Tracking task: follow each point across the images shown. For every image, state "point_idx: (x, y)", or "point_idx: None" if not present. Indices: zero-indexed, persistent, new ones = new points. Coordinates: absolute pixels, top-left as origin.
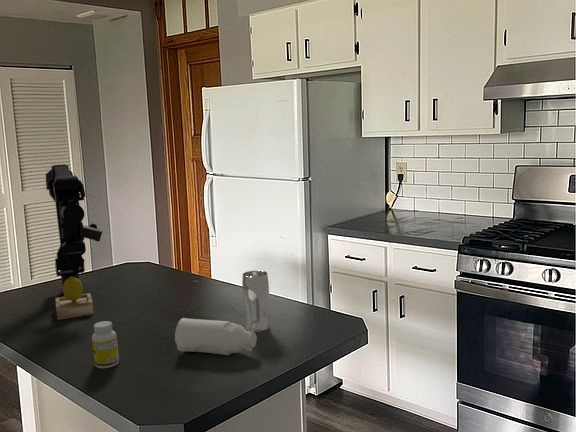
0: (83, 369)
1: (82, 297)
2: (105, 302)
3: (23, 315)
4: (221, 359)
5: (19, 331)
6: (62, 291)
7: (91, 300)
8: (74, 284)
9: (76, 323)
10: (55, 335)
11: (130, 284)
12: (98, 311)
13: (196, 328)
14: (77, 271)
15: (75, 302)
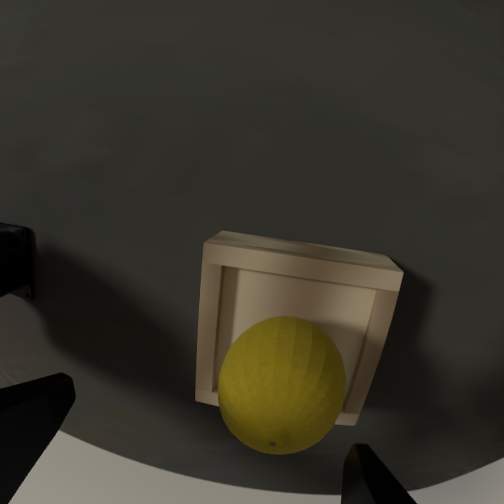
0: None
1: (222, 285)
2: (224, 159)
3: (210, 451)
4: None
5: None
6: (18, 292)
7: (375, 271)
8: (339, 407)
9: (446, 338)
10: (490, 400)
11: (45, 44)
12: (358, 225)
13: None
14: (373, 461)
15: None
